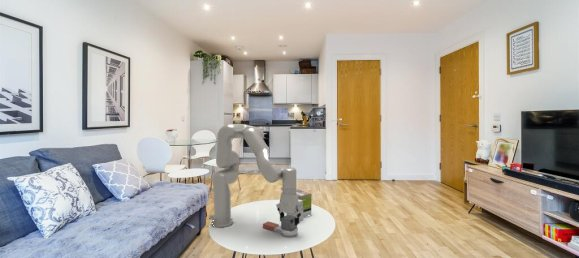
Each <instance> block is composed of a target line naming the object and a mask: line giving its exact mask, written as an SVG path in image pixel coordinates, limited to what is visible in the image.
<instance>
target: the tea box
mask: <svg viewBox="0 0 579 258" xmlns="http://www.w3.org/2000/svg"><path fill="white" fill-rule="evenodd" d="M296 194H297V195H298V199H299V200H303V210H304V211H303V217H305V216H308V215H311V216H312V193H311V192H308V191H305V190H302V189H299V188H296ZM308 217H309V216H308ZM305 218H306V217H305Z"/></svg>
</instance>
